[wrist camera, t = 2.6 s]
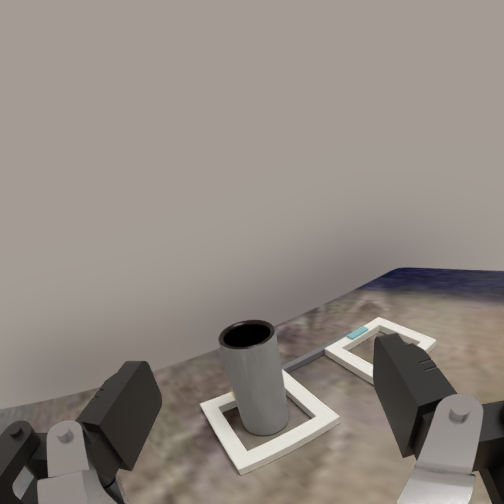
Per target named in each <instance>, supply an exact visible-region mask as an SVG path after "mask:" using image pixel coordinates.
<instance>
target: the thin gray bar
mask: <svg viewBox="0 0 504 504" xmlns="http://www.w3.org/2000/svg"><path fill="white" fill-rule="evenodd" d="M350 333H352V332H350V331H348V332H347V333H345V334H343V335H341V336H339V337H338V338H336V339H334V340H332V341H330V342H328V343H326V344H325V345H323V346H321V347H319V348H317V349H315V350H313V351H311V352H309V353H307V354H305V355H303V356H301V357H299V358H297V359H295V360H293V361H291V362H289V363H287V364H285V365H282V366H281V367H282V369H283V370H284V371H285V372H286V373H289V372H292V371H294V370H296V369H298V368H300V367H302V366H303V365H305V364H307V363H309V362H311V361H313V360H315V359H317V358H319V357H321V356H323V355H324V354H325V349H324V348H326V347H328V346H330V345H332V344H333V343H335V342H337V341H339V340H341V339H342V338H344V337H346V336H347V335H348V334H350Z"/></svg>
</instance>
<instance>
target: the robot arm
mask: <svg viewBox="0 0 504 504" xmlns="http://www.w3.org/2000/svg"><path fill="white" fill-rule="evenodd" d="M373 383H374V387H375V390H376V393H377V395H378V397H379V400H380V402H381V404H382V407H383V409H384V412H385V414H386V416H387V419H388V421H389V424H390V426H391V429H392V431H393V434H394V436H395V439H396V441H397V444H398V446H399V449H400V452H401V454H402V457H403V458H405V457H408V456H411V455H415V458H416V460H417V462H416V464H415V467H414V469H413V471H412V473H411V475H410V478H409V480H408V482H407V484H406V486H405V488H404V490H403V492H402V494H401V496H400V498H399V500H398V501H397V503H396V504H468V503H469V500H470V497H471V494H472V491H473V487H474V483H475V475H474V474H472V472H473V471H478V470H479V473H480V475H481V477H482V480H483V482H484V484H485V487H486V489H487V492H488V494H489V497H490V499H491V502H492V504H504V401H499V402H494V403H488V404H481V403H480V402H479V401H478V400H477V399H476V398H474V397H472V396H470V395H466V394H457V392H456V391H455V390H454V388H453V387H452V386H451V384H450V383H449V382H448V380H447V379H446V377H445V376H444V375H443V374H442V372H441V371H440V370H439V368H437V367H436V364H435V363H434V362H433V360H431V358H430V357H429V355H428V354H427V353H426V352H425V350H424V349H422V348H420V347H419V346H417V345H415V344H413V343H411V344H407V345H406V344H405V342H404V341H403V340H402V338H401V337H400V336H399V334H398V333H392V334H388V335H383V336H379V337H376V338H375V341H374V359H373ZM161 405H162V396H161V393H160V390H159V388H158V385H157V383H156V381H155V378H154V376H153V373H152V371H151V369H150V366H149V364H148V363H147V362H146V361H126V362H125V363H124V364H123V366H122V367H121V368H120V369H119V371H118V372H117V373H116V374H114V375H113V376H111V377H110V378H109V379H107V380H106V381H105V382H104V384H103V385H102V386H101V388H100V391H97V393H96V394H95V395H94V398H92V399H91V401H90V402H89V403H88V405H87V406H86V407H85V409H84V410H83V411H82V413H81V414H80V415H79V417H78V418H77V419H76V421H71V420H68V421H63V422H60V423H58V424H56V425H55V426H53V427H52V428H51V429H50V431H49V432H48V433H36V432H35V431H34V429H33V428H32V427H31V425H30V424H29V423H28V422H26V421H17V422H14V423H12V424H11V425H9V426H8V427H7V428H6V430H5V431H4V432H3V433H2V434H1V436H0V504H129V502H128V499H127V497H126V494H125V491H124V489H123V486H122V483H121V480H120V478H119V476H118V475H117V474H116V473H117V471H118V469H119V468H120V469H124V470H129V471H132V469H133V467H134V465H135V463H136V461H137V458H138V456H139V454H140V452H141V450H142V447H143V445H144V443H145V441H146V439H147V437H148V435H149V432H150V430H151V428H152V426H153V424H154V422H155V419H156V417H157V415H158V413H159V411H160V409H161ZM24 466H25V467H26V468H27V469H28V470H29V472H30V473H31V474H32V475H33V476H34V478H33V480H32V482H31V483H30V485H29V487H28V488H27V490H26V492H25V493H24V495H23V497H22V498H21V500H20V499H19V498H17V497H16V496H15V494H14V492H13V489H12V485H13V483H14V481H15V479H16V478H17V476H18V475H19V473H20V472H21V470H22V469H23V467H24Z"/></svg>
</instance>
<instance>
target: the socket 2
mask: <svg viewBox="0 0 504 504" xmlns="http://www.w3.org/2000/svg"><path fill="white" fill-rule="evenodd" d="M379 331H380V332H383V333H385V334H387V335H388V334H392V333H398V334H399V336H400V337H401V338H402V340H403V341H404V342H406V343H408V344H411V343H413V344H415V345H417V346H419V347H420V348H422V349H424V350H425V352H426V353H427V354H428V353H430V352H431V351H432V350H433V349H434V348H435V347H436V341H437V340H435V339H433V338H430V337H428V336H425V335H423V334H420V333H417V332H415V331H412V330H410V329H407V328H405V327H402V326H400V325H397V324H395V323H392V322H390V321H387V320H385V319H382V318H380V317H378V318H376V319H375V320H373V321H372V322H370V323H368V324H367V325H365V326H362V327H361V328H359V329H357V330H355V331H354V332H352V333H350V334H348V335H347V336H346V337H344V338H342V339H341V340H339V341H337V342H335V343H333V344H332V345H330V346H328V347H326V348H324V349H325V355H326V356H328V357H329V358H331V359H332V360H334V361H335V362H337V363H339V364H340V365H342V366H343V367H345V368H347V369H348V370H350V371H351V372H353V373H355V374H356V375H358V376H359V377H361V378H363V379H364V380H366V381H368V382H369V383H371V384H373V385H374V383H373V365H371V364H370V363H368V362H366V361H364V360H362V359H361V358H359V357H357V356H355V355H354V354H352V353H350V352H348V350H350V349H352V348H353V347H355V346H357V345H358V344H360V343H362V342H363V341H365V340H366V339H368V338H370V337H371V336H373V335H374V334H376V333H377V332H379Z"/></svg>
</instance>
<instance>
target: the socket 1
mask: <svg viewBox="0 0 504 504" xmlns="http://www.w3.org/2000/svg"><path fill="white" fill-rule="evenodd" d="M282 373H283V380H284V386H285V392H286V395H287V396H288V397H289V398H290V399H291V400H293V401H294V402H295V403H296V404H297V405H298V406H299V407H300V408H301V409H302V410H303V411H304V412H305V413H307V414H308V415H309V416H310V417H311V418H312V419H311V420H309V421H307V422H305V423H304V424H302V425H300V426H298V427H296V428H294V429H293V430H291V431H289V432H287V433H285V434H283V435H281V436H279V437H277V438H275V439H273V440H271V441H269V442H267V443H265V444H263V445H260V446H258V447H256V448H254V449H252V450H249V451H247V450H246V449H245V447H244V446H243V445H242V443H241V442H240V440H239V439H238V437H237V436H236V434H235V433H234V431H233V430H232V428H231V427H230V425H229V424H228V422H227V420H226V419H225V417H224V416H223V414H222V413H223V412H225V411H228V410H230V409H233V408H235V407H237V403H236V400H235V397H234V394H233V391H231V392H230V393H227V394H225V395H222V396H220V397H217V398H215V399H212V400H209V401H207V402H204V403H201V404H200V405H201V407H202V410H203V412H204V414H205V416H206V417H207V419H208V421H209V423H210V425H211V427H212V428H213V430H214V432H215V434H216V435H217V437H218V439H219V441H220V442H221V444H222V446H223V447H224V449H225V451H226V452H227V454H228V456H229V457H230V459H231V461H232V462H233V464H234V465H235V467H236V469H237V470H238V472H239V473H240V475H243V474H246V473H248V472H250V471H253V470H255V469H257V468H259V467H261V466H263V465H266V464H268V463H270V462H272V461H274V460H276V459H278V458H280V457H282V456H284V455H286V454H288V453H290V452H291V451H293V450H295V449H297V448H299V447H301V446H302V445H304V444H306V443H308V442H310V441H311V440H313V439H315V438H316V437H318V436H320V435H321V434H323V433H325V432H326V431H328V430H330V429H331V428H333V427H334V426H336V425H337V424H339V423H340V416H338V415H337V414H336V413H335V412H333V411H332V410H331V409H330V408H328V407H327V406H326V405H325V404H323V403H322V402H321V401H320V400H318V399H317V398H316V397H315V396H314V395H312V394H311V393H310V392H309V391H308V390H306V389H305V388H304V387H303V386H302V385H300V384H299V383H298V382H297V381H296V380H294V379H293V378H292V377H291V376H290V375H289V374H287V373H286V372H285V371H284V370H283V369H282Z"/></svg>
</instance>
